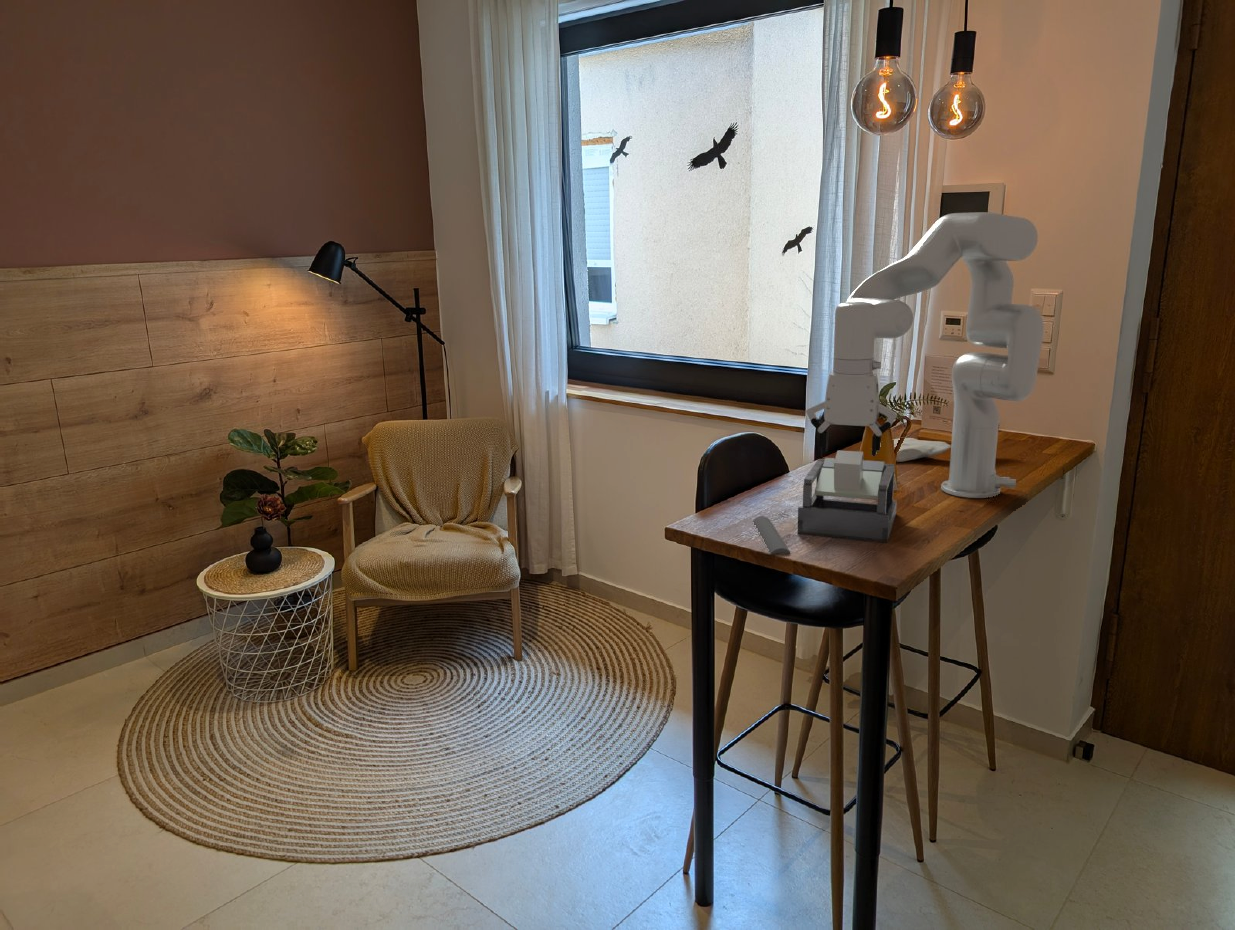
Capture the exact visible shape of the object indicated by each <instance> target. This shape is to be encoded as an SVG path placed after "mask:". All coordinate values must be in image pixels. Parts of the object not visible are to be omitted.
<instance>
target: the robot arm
mask: <svg viewBox="0 0 1235 930" xmlns="http://www.w3.org/2000/svg"><path fill="white" fill-rule="evenodd" d="M1038 239H1039V234H1038V230H1037V228H1036V226H1035V224H1034V223H1033V222H1032V221H1031V220H1030V219H1028V218H1025V217H1019V216H1015V215H1014V216H1013V215H1007V214H1003V213H997V212H988V211H987V212H986V211H985V212H983V211H981V212H954V213H947V214H946V215H943V216H941V217H940V218H938V219H937V220H936V221H935V222H934V223H933V224H932V226H931V227H930V228H929V229H928V230H927V232H926V233H925V234H924V235H923V236H922V238H921V239H920V240H919V241H918V242H917V244H915V246H913V248H912V249H911V250H910V251H909V252H908V254H906V256H905V257H902V258H901V259H899V260H898V261H895V262H893V263H891V264H889V265H888V266H886V267H884V268H883V269H881V270H878V271H877V272H875V273H873V274H872V275H870V276H869V277H867V278H866V279H865V280H863V281H862V282H861V283H860V284H859V285H858V286H857V288H856V289H855V290H854V291H853V292H852V293H851V294H850V296H849V297H848V298H847V300H846V301H845V302H841V303H838V305H837V306H836V308H835V312H834V331H833V332H834V335H833V336H834V337H833V338H834V339H833V357H832V358H833V363H832V364H833V366H832V372H830V373H829V374H828V375H829V376H828V379H827V384H826V388H825V389H826V390H825V397H824V398H825V399H824V401H821V402H820V403H817V404H815V405H813V406H811V407H808V408H807V409H806V411H805V412H806V415H807V417H808V419H809V420H810V424H812V426H813V427H814V428H815V429H816V430H817V432H818V433H819V436H818V437H819V440H818V443H819V444H818V445H819V448H821V453H826V452H827V451H828V449H829V431H828V427H830V425H836V426H837V425H839V426H856V427H857V426H858V427H859V426H860V427H869V428H870V429H871V431H872V432H873V434H872V438H871V439H872V441H871V449H872V455H873V457H875V456H876V454H877V451H880V447H881V442H882V441H881V440H882V435H883V434H884V433H885V432H886V431H888V430H889V429H890V428H891V427H892V425H893V423H894V422H895V420H896V419H897V416H898V414H897V413H898V412H896V411H893V410H892V409H890V408H888V407H887V406H885V405H883V404H881V403H880V398H879V397H880V396H879V395H880V393H879V392H880V391H879V390H880V387H879V379H878V374H877V373H876V372H875V373H874V371H875V370H877V369H878V370H881V369H882V362H881V361H878V360H876V359H875V357H874V356H875V355H874V354H875V340H876V339H891V340H892V339H898V338H900V337H902V336H904V335H906V334H907V333H908V332H909V331H910V329H911V328H912V325H913V322H914V314H913V310H912V309H911V307H910V305H908V304H907V303H906V302H904V301H901V300H899V299H900V298H903V297H907V296H911V295H915V294H919V293H922V292H925V291H928V290H930V289H932V288H935V287H936V286H938V285H939V284H940V283H941V282H942V280H943V279H944V278H945V277H946V276H947V274H948V273H949V272H950V271H951V269H952V268H953V267H954V266H955V264H956V263H958V262H959V260H960V259H962V260H963V262H964V263H965V265H966V266H967V269H968V271H969V274H970V280H971V284H970V285H971V286H970V294H969V300H968V301H969V302H968V308H967V316H966V323H965V335H966V339H967V341H968V342H969V343H971V344H973V345H976V346H980V347H986V348H987V347H988V348H994V349H995V348H996V349H1004V350H1005V349H1007V355H1006V354H999V353H989V352H977V351H976V352H968V353H964V354H962V355H961V356H959V357H958V358H957V359H956V360H955V361H954V363H953V366H952V369H951V383H952V390H953V391H952V392H953V420H952V431H951V432H952V433H951V444H950V445H951V448H950V459H949V471H948V472H949V473H948V474H949V475H948V480H945V481H942V483H941V484H940V486H941V487H940V489H941V490H942V491H943V492H944V493H946V494H948V495H952V496H956V497H961V498H969V499H985V498H986V499H987V498H988V497H989V498H993V496H994V497H997V496H998V494H999V495H1000V493H1001V487H1006V488H1016V486H1017V479H1016V478H1011V477H1009V476H1000V475H997V471H996V460H997V459H996V458H997V448H998V447H997V445H998V437H999V436H998V435H999V430H998V426H999V427H1000V415H999V414H1000V413H999V410H998V407H997V404H996V402H995V400H994V399H996V400H1003V401H1010V402H1021V401H1024V400H1026V399H1027V398H1029V397H1030V395H1031V394H1032V393H1033V390H1034V387H1035V384H1036V381H1037V375H1038V370H1039V365H1040V357H1041V351H1042V345H1043V338H1044V332H1045V331H1044V327H1045V326H1044V318H1043V316H1042V314H1041V312H1040V311H1039V309H1037V308H1036V307H1035V306H1032V305H1028V304H1021V303H1020V304H1017V303H1013V294H1014V292H1013V291H1014V286H1015V285H1014V283H1015V281H1014V280H1015V279H1014V275H1013V272H1012V270H1011V268H1010V266H1009V264H1008V263H1007V262H1018V261H1019V262H1020V261H1023V260H1026V259H1027V258H1028V257H1030V256H1031V255H1032V254H1033V252H1034V251H1035V249H1036V247H1037V245H1038V241H1039V240H1038ZM821 410H823V419H824V421H823V422H822V421H821V420H820V419H819V418H818V417H817V414H816V413H818V412H820V411H821ZM879 414H882V415H884V416H885V417H886V418H887V419H886V421H885V422H883V424H881V425H880V423H879V422H878V421H877V420H879ZM872 455H871V456H872ZM996 495H997V496H996Z"/></svg>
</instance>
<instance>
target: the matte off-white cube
mask: <svg viewBox="0 0 1235 930" xmlns="http://www.w3.org/2000/svg"><path fill="white" fill-rule="evenodd" d="M863 460H864V451H856V450H855V451H854V450H837V451H836V454H835V461H834V489H843V490H856V491H860V488H861V484H862V480H863Z"/></svg>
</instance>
